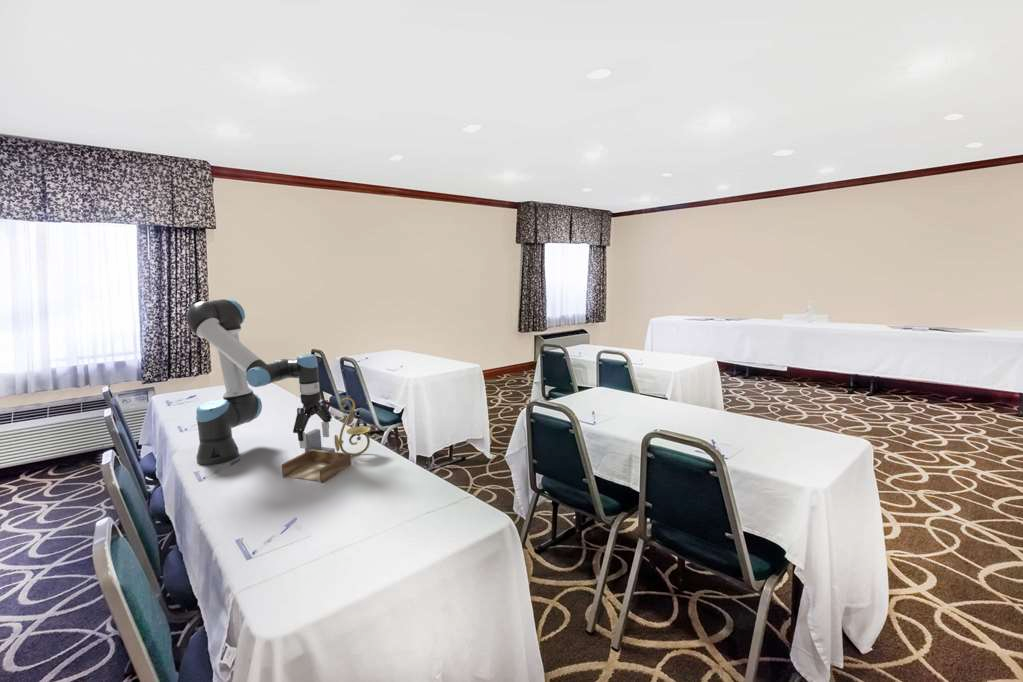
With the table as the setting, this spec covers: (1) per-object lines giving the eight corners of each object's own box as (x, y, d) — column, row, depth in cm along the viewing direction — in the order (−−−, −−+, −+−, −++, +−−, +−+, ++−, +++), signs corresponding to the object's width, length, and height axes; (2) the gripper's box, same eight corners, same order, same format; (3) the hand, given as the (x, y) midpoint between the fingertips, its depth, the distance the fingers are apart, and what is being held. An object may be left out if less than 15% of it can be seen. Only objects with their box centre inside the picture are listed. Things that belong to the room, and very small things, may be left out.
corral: (282, 477, 187) (281, 464, 186) (313, 460, 202) (312, 448, 201) (323, 483, 181) (322, 470, 180) (351, 465, 196) (350, 453, 195)
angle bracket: (305, 457, 205) (303, 434, 204) (317, 451, 212) (315, 428, 210) (323, 460, 202) (321, 436, 201) (335, 453, 209) (333, 430, 207)
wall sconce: (340, 463, 199) (335, 402, 195) (335, 455, 207) (330, 397, 203) (374, 455, 206) (370, 396, 202) (368, 448, 214) (364, 392, 210)
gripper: (295, 401, 191) (300, 454, 194) (337, 385, 214) (342, 433, 217) (279, 400, 193) (285, 452, 197) (323, 384, 217) (327, 431, 220)
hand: (315, 442), depth 207 cm, fingers open, 13 cm apart
